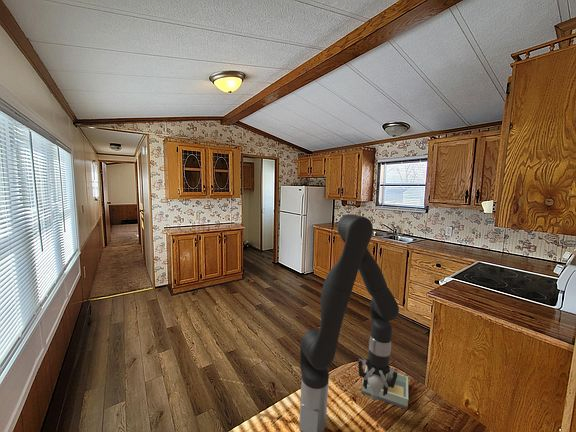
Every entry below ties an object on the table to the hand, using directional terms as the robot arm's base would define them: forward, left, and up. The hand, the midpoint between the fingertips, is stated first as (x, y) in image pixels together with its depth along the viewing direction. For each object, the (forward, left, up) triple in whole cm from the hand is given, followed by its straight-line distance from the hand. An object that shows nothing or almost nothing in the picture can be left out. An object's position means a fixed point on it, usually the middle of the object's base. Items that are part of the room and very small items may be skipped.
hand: (374, 390), depth 96 cm
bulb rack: (+12, -3, -8) cm, 15 cm away
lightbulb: (0, 0, -4) cm, 4 cm away
